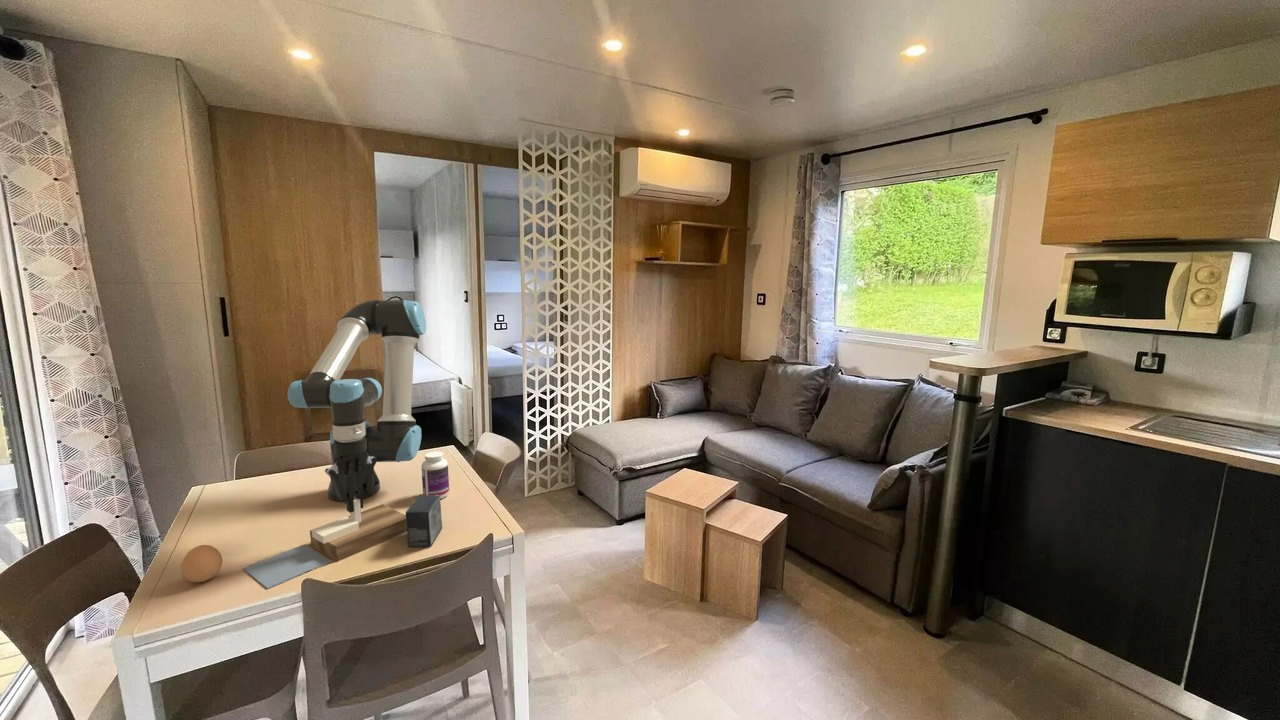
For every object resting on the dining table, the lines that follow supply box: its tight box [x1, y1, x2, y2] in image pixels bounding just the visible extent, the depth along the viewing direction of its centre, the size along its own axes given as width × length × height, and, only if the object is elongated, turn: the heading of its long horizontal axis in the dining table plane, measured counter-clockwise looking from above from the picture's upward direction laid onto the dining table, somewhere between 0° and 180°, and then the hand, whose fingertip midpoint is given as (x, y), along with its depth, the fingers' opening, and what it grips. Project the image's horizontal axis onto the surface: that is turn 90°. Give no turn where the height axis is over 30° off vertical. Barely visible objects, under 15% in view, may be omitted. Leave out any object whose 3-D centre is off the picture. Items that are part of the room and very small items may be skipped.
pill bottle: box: [420, 451, 450, 500], centre depth 168 cm, size 8×8×14 cm
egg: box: [180, 544, 223, 583], centre depth 121 cm, size 7×7×8 cm
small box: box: [405, 494, 443, 549], centre depth 142 cm, size 11×6×10 cm, turn 5°
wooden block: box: [309, 503, 407, 562], centre depth 142 cm, size 14×20×4 cm
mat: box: [242, 543, 332, 590], centre depth 128 cm, size 14×14×1 cm
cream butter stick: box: [311, 516, 359, 544], centre depth 136 cm, size 6×9×2 cm, turn 147°
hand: (356, 521), depth 140 cm, fingers closed
